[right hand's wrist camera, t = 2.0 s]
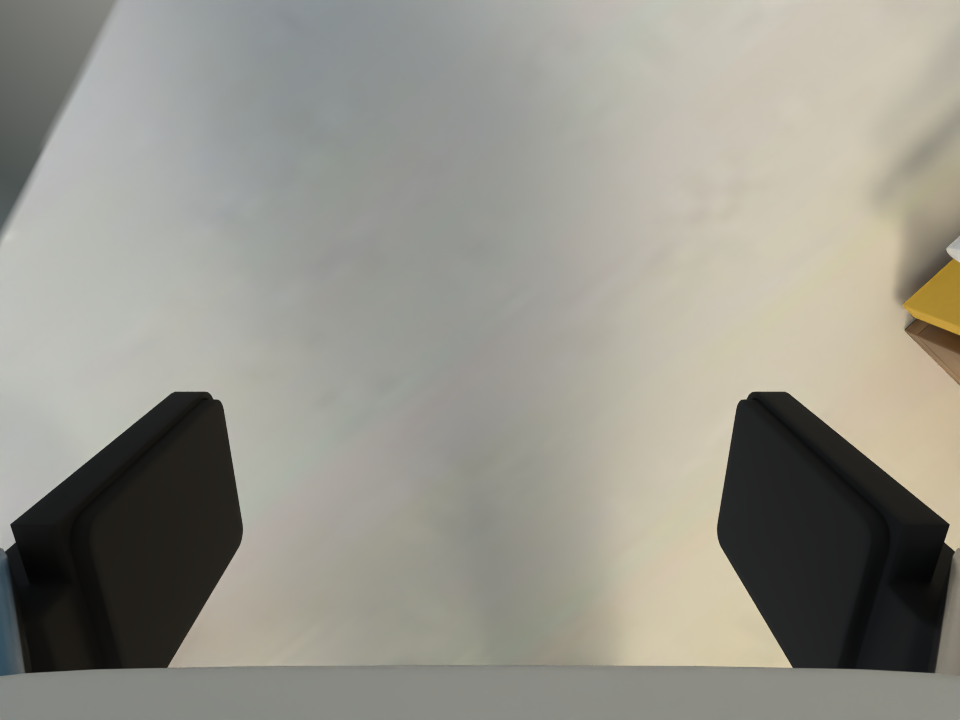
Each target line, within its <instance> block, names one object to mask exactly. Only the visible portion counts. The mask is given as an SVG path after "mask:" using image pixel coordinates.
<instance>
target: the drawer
mask: <svg viewBox="0 0 960 720" xmlns="http://www.w3.org/2000/svg"><path fill="white" fill-rule="evenodd" d="M946 250H947V252H948V254H949V255H950V256H951V257H952V258H953V259H952V260H951V261H950V262H949V263H948V264H947V265H946V266H945V267H944V268H942V269H941V270H940V271H939V272H938V273H937V274H936V275H935V276H934V277H933V278H931V279H930V280H929V281H928V282H927V283H926V284H925V285H924V286H923V287H921V288H920V289H919V290H918V291H917V292H916V293H915V294H914V295H913V296H912V297H910V298H909V299H908V300H907V301H906V302H905V303H904V304H903V307H904V308H905V309H906V310H907V311H908V312H909V313H910V314H911V315H912V316H913V317H915V318H917V319H920V320H922V321H925V322H927V323H930V324H932V325H935V326H937V327H940V328H943V329H945V330H948V331H950V332H953V333H955V334H958V335H960V236H959V237H958V238H957V239H956V240H955V241H953V242H952V243H951V244H950V245H949V246H948V247H947V249H946Z"/></svg>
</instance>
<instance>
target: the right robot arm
mask: <svg viewBox="0 0 960 720" xmlns="http://www.w3.org/2000/svg"><path fill="white" fill-rule="evenodd" d="M10 525H11V528H12V531H13V535H14V538H15V541H16V543H15V544H14V545H12V546H11V547H10V548H9V549H8V550H7V551H5V552H4V550H3V549H2V548H0V720H960V548H958V549H957V550H956V552H955V551H953V550H952V549H951V548H950V547H949V546H948V545H946V544H945V543H944V541H945V538H946V535H947V531H948V528H949V525H950V524H948V523H947V522H946V521H945V520H944V519H942V518H941V517H940V516H939V515H937V514H936V513H935V512H934V511H932V510H931V509H930V508H929V507H928V506H926V505H925V504H924V503H923V502H921V501H920V500H919V499H918V498H916V497H915V496H914V495H913V494H912V493H910V492H909V491H908V490H907V489H905V488H904V487H903V486H902V485H900V484H899V483H898V482H897V481H896V480H894V479H893V478H892V477H891V476H889V475H888V474H887V473H886V472H885V471H883V470H882V469H881V468H880V467H878V466H877V465H876V464H875V463H873V462H872V461H871V460H870V459H869V458H867V457H866V456H865V455H864V454H862V453H861V452H860V451H859V450H857V449H856V448H855V447H854V446H853V445H851V444H850V443H849V442H848V441H846V440H845V439H844V438H843V437H841V436H840V435H839V434H838V433H837V432H835V431H834V430H833V429H832V428H830V427H829V426H828V425H827V424H826V423H824V422H823V421H822V420H821V419H819V418H818V417H817V416H816V415H814V414H813V413H812V412H811V411H810V410H808V409H807V408H806V407H805V406H803V405H802V404H801V403H800V402H798V401H797V400H796V399H795V398H794V397H792V396H791V395H790V394H789V393H786V392H752V393H751V394H749V396H748V398H747V400H741V401H740V402H739V403H738V405H737V409H736V415H735V421H734V427H733V433H732V439H731V445H730V451H729V457H728V463H727V469H726V476H725V482H724V488H723V494H722V500H721V506H720V512H719V518H718V524H717V535H718V540H719V543H720V546H721V548H722V549H723V551H724V553H725V554H726V556H727V558H728V560H729V561H730V563H731V565H732V566H733V568H734V570H735V571H736V573H737V575H738V576H739V578H740V580H741V581H742V583H743V585H744V586H745V588H746V590H747V591H748V593H749V595H750V596H751V598H752V600H753V601H754V603H755V605H756V607H757V608H758V610H759V612H760V613H761V615H762V617H763V618H764V620H765V622H766V623H767V625H768V627H769V628H770V630H771V632H772V633H773V635H774V637H775V638H776V640H777V642H778V643H779V645H780V647H781V648H782V650H783V652H784V654H785V655H786V657H787V659H788V660H789V662H790V664H791V665H792V667H793V668H766V667H713V666H546V665H414V666H247V667H194V668H167V667H168V665H169V664H170V662H171V660H172V659H173V657H174V655H175V654H176V652H177V650H178V648H179V647H180V645H181V643H182V642H183V640H184V638H185V637H186V635H187V633H188V632H189V630H190V628H191V627H192V625H193V623H194V622H195V620H196V618H197V617H198V615H199V613H200V612H201V610H202V608H203V607H204V605H205V603H206V601H207V600H208V598H209V596H210V595H211V593H212V591H213V590H214V588H215V586H216V585H217V583H218V581H219V580H220V578H221V576H222V575H223V573H224V571H225V570H226V568H227V566H228V565H229V563H230V561H231V560H232V558H233V556H234V554H235V553H236V551H237V549H238V548H239V546H240V543H241V540H242V535H243V524H242V518H241V512H240V506H239V500H238V494H237V488H236V482H235V476H234V469H233V463H232V457H231V451H230V445H229V439H228V433H227V427H226V421H225V415H224V409H223V405H222V403H221V402H220V401H219V400H213V398H212V396H211V394H209V393H208V392H174V393H171V394H170V395H169V396H168V397H166V398H165V399H164V400H163V401H162V402H160V403H159V404H158V405H157V406H155V407H154V408H153V409H152V410H150V411H149V412H148V413H147V414H146V415H144V416H143V417H142V418H141V419H139V420H138V421H137V422H136V423H134V424H133V425H132V426H131V427H130V428H128V429H127V430H126V431H125V432H123V433H122V434H121V435H120V436H119V437H117V438H116V439H115V440H114V441H112V442H111V443H110V444H109V445H107V446H106V447H105V448H104V449H103V450H101V451H100V452H99V453H98V454H96V455H95V456H94V457H93V458H91V459H90V460H89V461H88V462H87V463H85V464H84V465H83V466H82V467H80V468H79V469H78V470H77V471H75V472H74V473H73V474H72V475H71V476H69V477H68V478H67V479H66V480H64V481H63V482H62V483H61V484H60V485H58V486H57V487H56V488H55V489H53V490H52V491H51V492H50V493H48V494H47V495H46V496H45V497H44V498H42V499H41V500H40V501H39V502H37V503H36V504H35V505H34V506H32V507H31V508H30V509H29V510H28V511H26V512H25V513H24V514H23V515H21V516H20V517H19V518H18V519H16V520H15V521H14V522H13V523H12V524H10Z"/></svg>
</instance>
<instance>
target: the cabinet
mask: <svg viewBox="0 0 960 720" xmlns="http://www.w3.org/2000/svg"><path fill="white" fill-rule="evenodd" d="M905 331H906V332H907V333H908V334H909V335H910V336H911V337H912V338H913V339H914V340H915V341H916V342H917V343H918V344H919V345H920V346H921V347H922V348H923V349H924V350H925V351H926V352H927V353H928V354H929V355H930V356H931V357H932V358H933V359H934V360H935V361H936V362H937V363H938V364H939V365H940V366H941V367H942V368H943V369H944V370H945V371H946V372H947V373H948V374H949V375H950V376H951V377H952V378H953V379H954V380H955V381H956V382H957V383H958V384H959V385H960V335H958V334H955V333H953V332H950V331H948V330H945V329H943V328H940V327H937V326H935V325H932V324H930V323H927V322H925V321H922V320H920V319H917V320H916V321H915V322H913V323H912V324H911V325H910V326H909V327H908V328H907V329H906V330H905Z"/></svg>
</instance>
